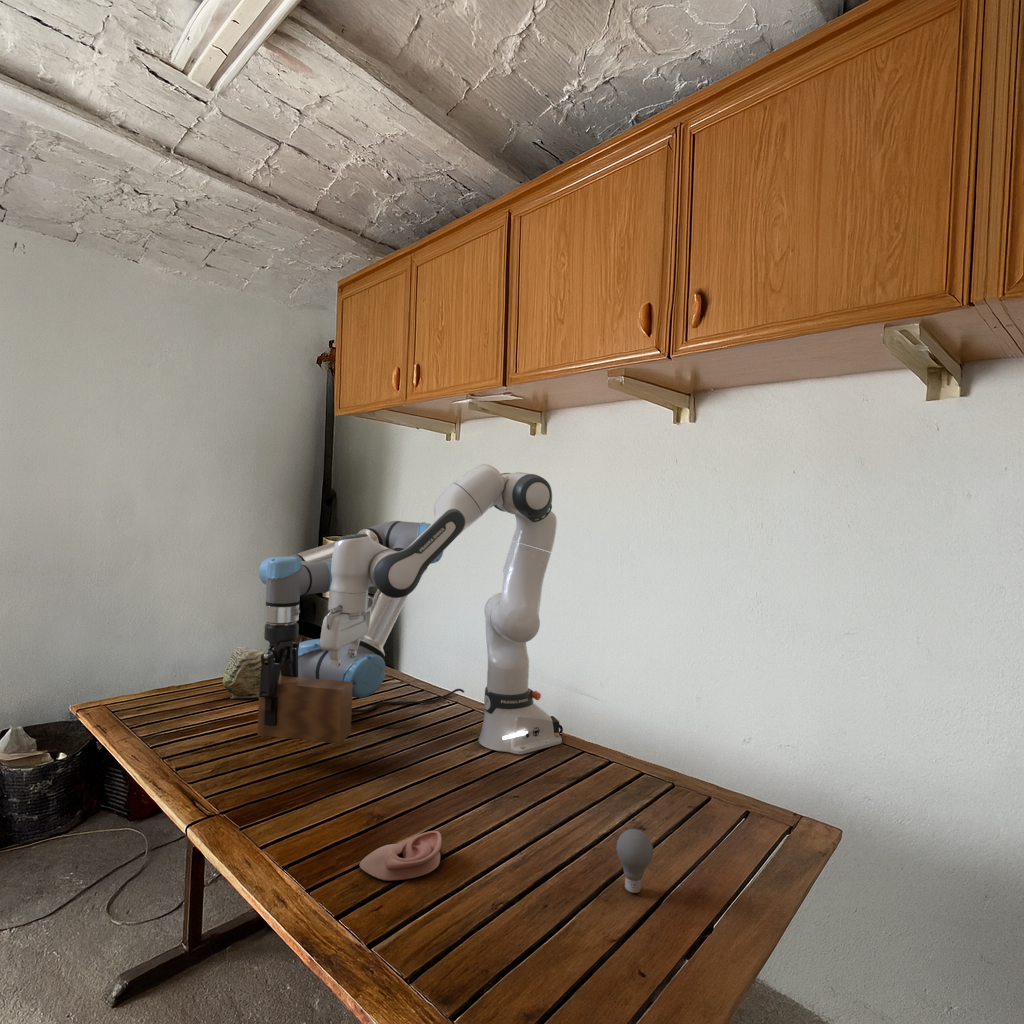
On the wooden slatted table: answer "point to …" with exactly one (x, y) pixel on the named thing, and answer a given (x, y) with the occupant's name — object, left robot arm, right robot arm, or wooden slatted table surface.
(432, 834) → the anatomical model
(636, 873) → the light bulb
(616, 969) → the wooden slatted table surface
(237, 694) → the fossil
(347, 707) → the box
